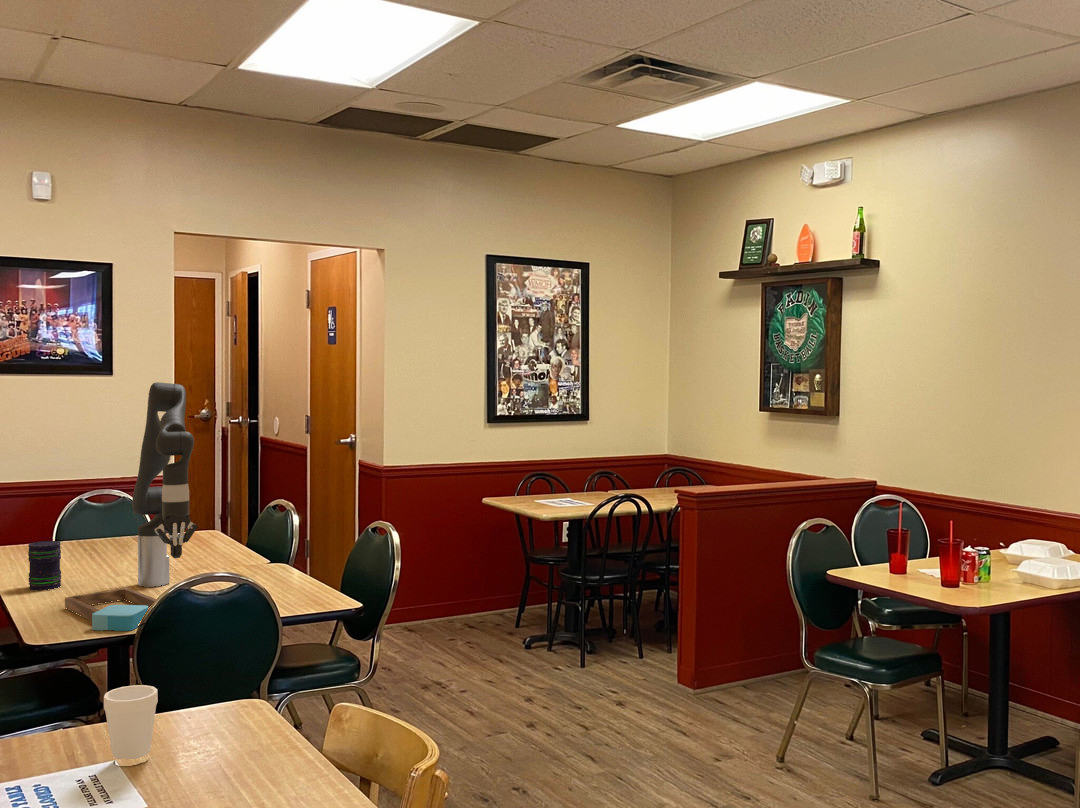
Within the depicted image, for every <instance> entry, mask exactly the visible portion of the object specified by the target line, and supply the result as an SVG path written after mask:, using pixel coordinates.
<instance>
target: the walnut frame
mask: <svg viewBox="0 0 1080 808" xmlns="http://www.w3.org/2000/svg"><path fill="white" fill-rule="evenodd" d="M124 599H125V600H127V601H126V602H128V601H130V602H132V603H134V604H133V605H135V604H136V605H146V606H148V608H149V607H150V606H151V605H152V604H153V603H154V602H155V601H156V599H157V598H155V597H151V596H149V595H146V594H144V593H141V592H139V591H137V590H134V589H132V588H129V587H125V588H124V587H123V588H116V589H110V590H105V591H100V592H99V591H98V592H91V593H86V594H79V595H73V596H66V597H64V609H65V608H67V609H69V610H71V611H73V612H75V613H77V614H79V615H81V616H83V617H85V618H87V619H89V620H91V621H92V614H93V613H95V612H97V611H99V610H100V609H98V608H96V607H93V606H90V605H92V604H98V603H105V602H111V601H117V600H124ZM125 600H124V601H125ZM117 602H118V601H117ZM130 602H129V603H130ZM111 603H112V602H111ZM132 603H131V604H132ZM105 604H106V603H105ZM67 609H66V610H67ZM69 610H68V611H69ZM71 611H70V612H71ZM73 612H72V613H73ZM75 613H74V614H75ZM77 614H76V615H77ZM79 615H78V616H79ZM81 616H80V617H81ZM83 617H82V618H83ZM85 618H84V619H85ZM87 619H86V620H87ZM89 620H88V621H89ZM91 621H90V622H91Z"/></svg>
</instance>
